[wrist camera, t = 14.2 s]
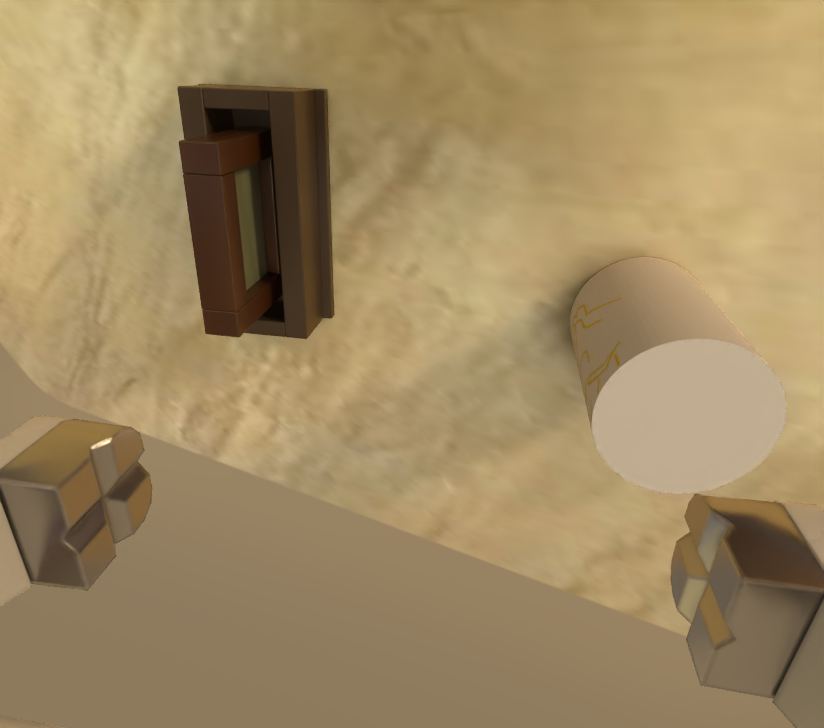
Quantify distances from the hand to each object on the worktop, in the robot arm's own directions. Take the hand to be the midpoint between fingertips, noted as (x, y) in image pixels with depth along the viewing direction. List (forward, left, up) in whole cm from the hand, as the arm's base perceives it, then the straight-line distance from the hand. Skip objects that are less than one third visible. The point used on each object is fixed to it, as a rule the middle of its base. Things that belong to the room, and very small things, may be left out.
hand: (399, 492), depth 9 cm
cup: (+2, +13, -29) cm, 32 cm away
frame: (+9, -10, -28) cm, 32 cm away
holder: (+9, -10, -29) cm, 32 cm away
